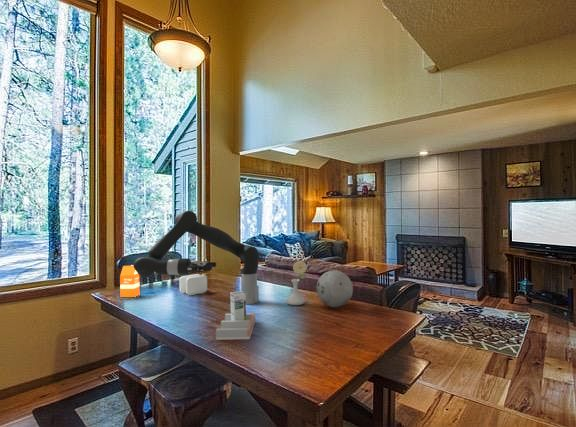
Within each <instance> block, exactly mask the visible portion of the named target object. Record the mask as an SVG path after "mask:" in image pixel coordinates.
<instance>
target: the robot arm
mask: <svg viewBox="0 0 576 427" xmlns="http://www.w3.org/2000/svg"><path fill="white" fill-rule="evenodd" d="M186 233H188V234H191V235H194V236H196V237H198V238H200V239H202V240H204V241H205V242H207V243H209V244H210V245H212V246H215V247H217V248H219V249H222V250H224V251H226V252H229V253H231V254H233V256H236V257H237V258H238V259H240V260H241V261H243V267H242V268H241V269H240V274H241V275H240V279H241V282H240V284H241V286H240V287H241V291H243V292H244V293H245V294H246V305H254V304H257V303H258V302H260V300H259V295H260V294H259V291H260V290H259V288H260V287H259V285H258V268H259V251H258V249H257V247H255V246H252V245H246V244H244V243H241V242H239V241H237V240H235V238H233V237H232V236H231V235H230V234H229V233H227V232H225V231H223V230H222V229H220V228H217V227H215V226H210V225H208V224H207V225H206V224H203V223H201V222H199V221H198V216H197V214H196V213H195V212H194V211H191V210H183V211H182V212H181V213H178V214H177V215H176V216H175V217H174V225H173V227H172V228H171V229H170V230H169V231H168V232H167V233H165V234H164V235H162V237H161V238H159V239H158V240H157V241H156V242H155V243H154V245H152V247H151V248H150V249H149V251H148V252H147V254H148V256H142V257H138V258H137V259H136V260H135V261H134V262H133V265H132V266H134V269H135V270H136V272H137V273H138V274H139V277H141V278H142V279H143V278H144V279H146V278H149V277H151V276H152V275H153V274H154V273H156V274H157V275H162V276H165V275H167V276H169V275H171V276H188V275H191V272H192V273H193V272H199V273H200V272H203V271H212V270H213V268H216V267H217V262H216V261H208V260H206V261H194V262H192V260H191V259H190V258H188V257H187V258H172V259H171V258H170V259H163V258H164V257H165V256H166V255H167V253H168V252H169V251H171V250H172V247H173V246H174V245H175V244H176V243H177V242H178V240H180V239H181V238H182V237H183V235H185V234H186Z"/></svg>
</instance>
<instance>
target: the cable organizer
mask: <svg viewBox="0 0 576 427" xmlns="http://www.w3.org/2000/svg"><path fill="white" fill-rule="evenodd" d="M178 281H179V292H180V293H182V294H187V295H188V296H194V295H197V294H204V293H206V292H207V291H208V277H207V276H206V275H201V274H198V273H195V274H189V275H181V277H179V280H178Z"/></svg>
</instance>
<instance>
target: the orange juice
mask: <svg viewBox="0 0 576 427" xmlns="http://www.w3.org/2000/svg"><path fill="white" fill-rule="evenodd" d="M140 281H141V280H140V276H139V274H138V273H137V272H136V270H135V269H134V266H133V265H123V266H122V269H121V272H120V275H119V284H120V288H119V290H120V292H119V293H120V297H135V298H137V297H139V296H140V294H141V293H140ZM138 295H139V296H138ZM136 296H137V297H136Z"/></svg>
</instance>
